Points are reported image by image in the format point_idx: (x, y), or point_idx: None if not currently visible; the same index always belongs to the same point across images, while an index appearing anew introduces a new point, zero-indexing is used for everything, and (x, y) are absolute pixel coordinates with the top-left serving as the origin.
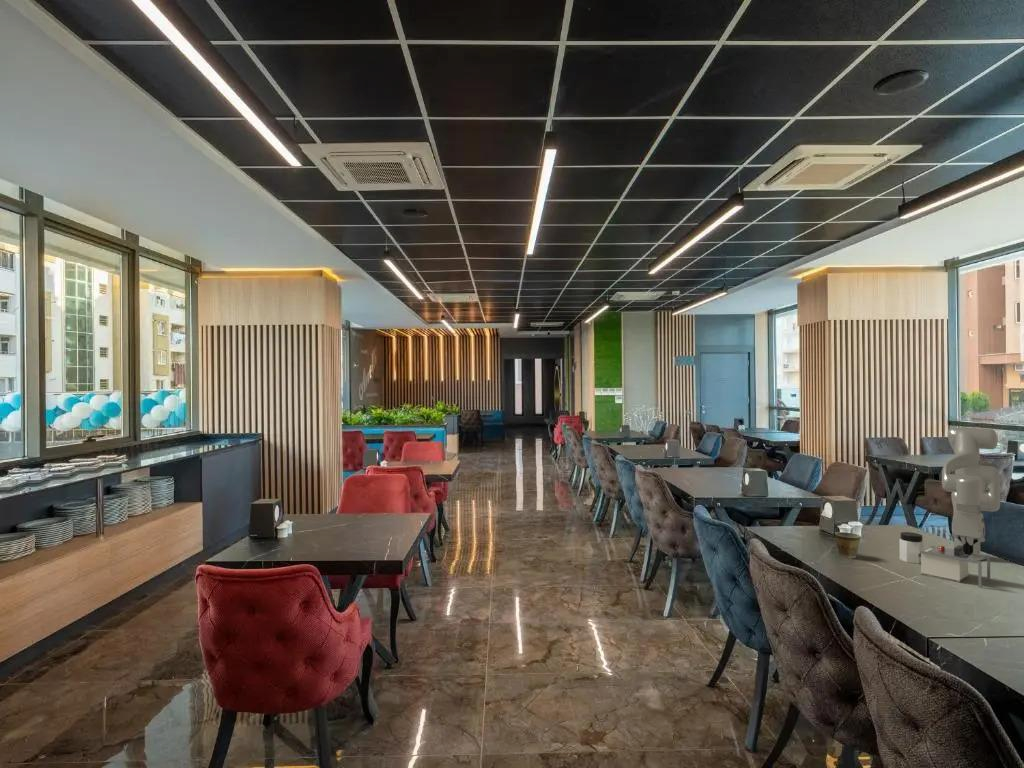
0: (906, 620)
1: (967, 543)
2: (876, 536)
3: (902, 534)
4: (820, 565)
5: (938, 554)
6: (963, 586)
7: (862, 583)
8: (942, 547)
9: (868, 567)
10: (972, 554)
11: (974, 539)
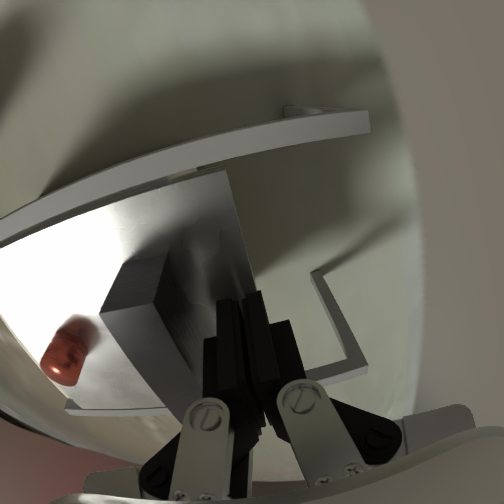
0: (299, 478)
1: (250, 418)
2: None
3: None
4: (26, 415)
5: (141, 414)
6: (270, 320)
7: (147, 453)
8: (76, 380)
9: (23, 368)
10: (241, 232)
11: (347, 453)
